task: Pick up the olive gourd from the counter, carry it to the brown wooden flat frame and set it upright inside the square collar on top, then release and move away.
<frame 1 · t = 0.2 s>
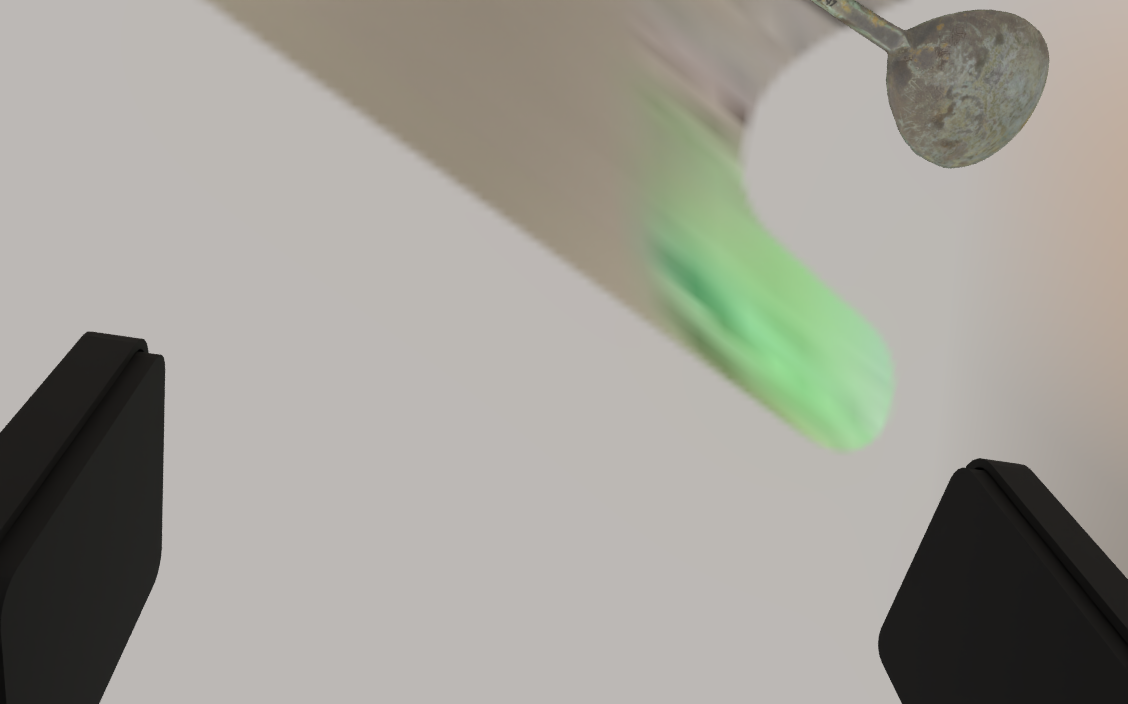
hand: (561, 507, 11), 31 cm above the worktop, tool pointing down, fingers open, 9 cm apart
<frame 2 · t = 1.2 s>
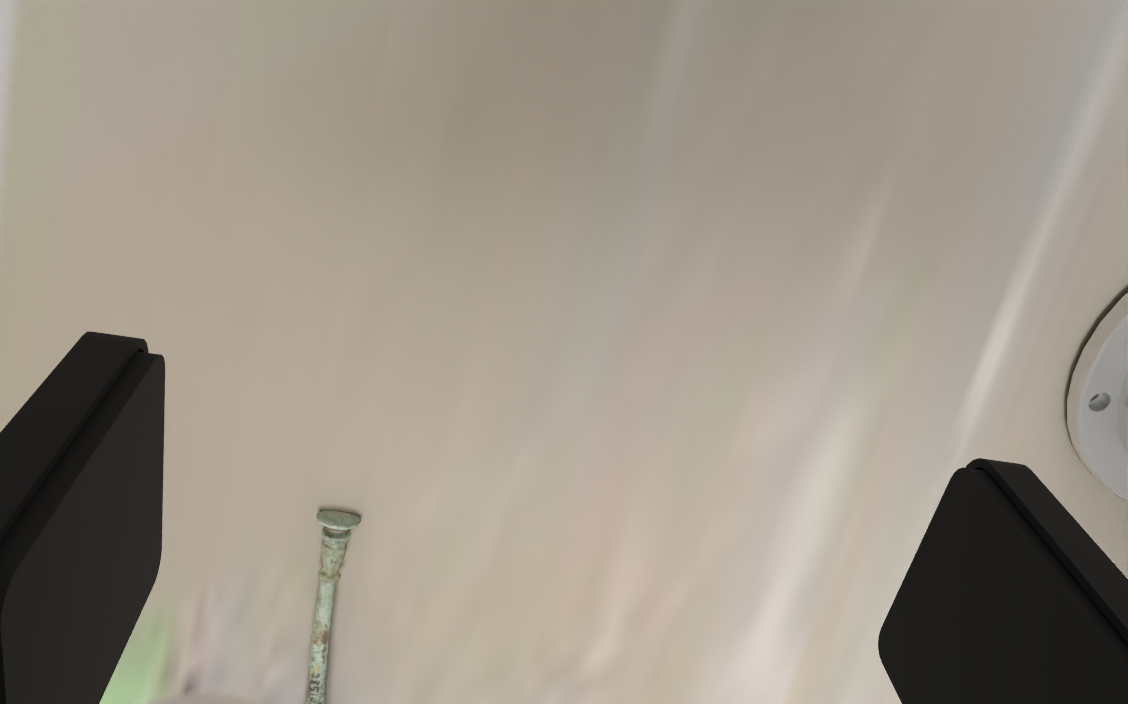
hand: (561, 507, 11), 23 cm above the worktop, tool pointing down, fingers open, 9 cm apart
soupspoon: (323, 687, 45), on the worktop
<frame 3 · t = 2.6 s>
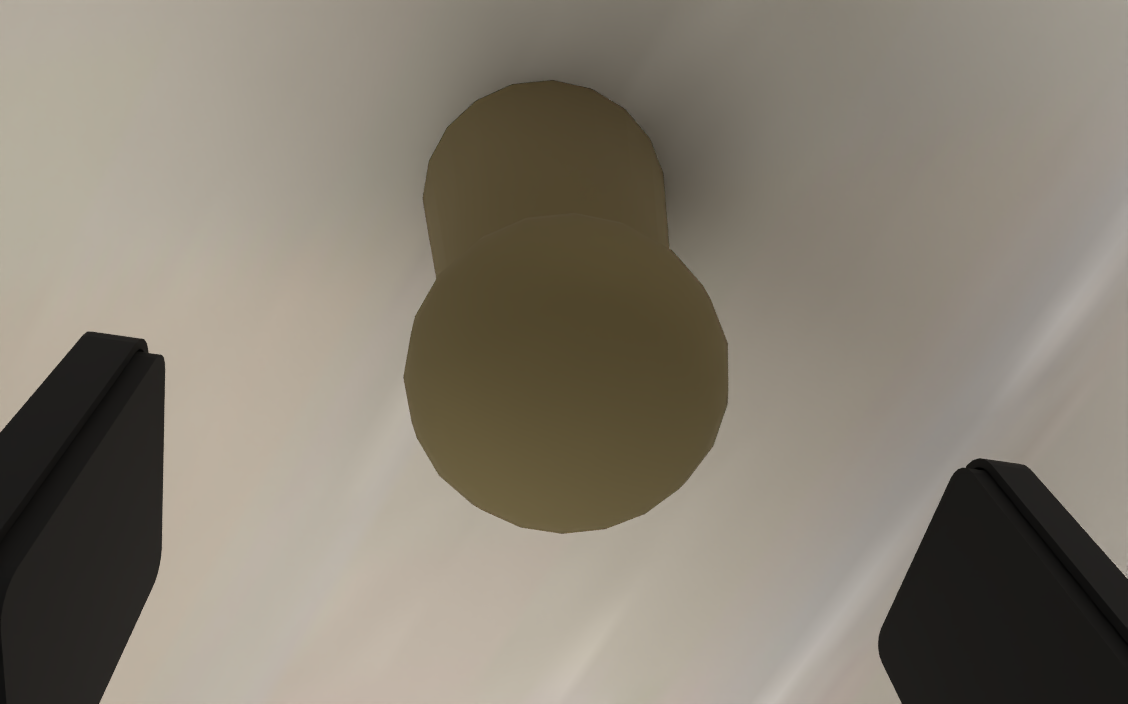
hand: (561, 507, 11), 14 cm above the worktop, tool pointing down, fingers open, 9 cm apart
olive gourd: (544, 201, 24), on the worktop
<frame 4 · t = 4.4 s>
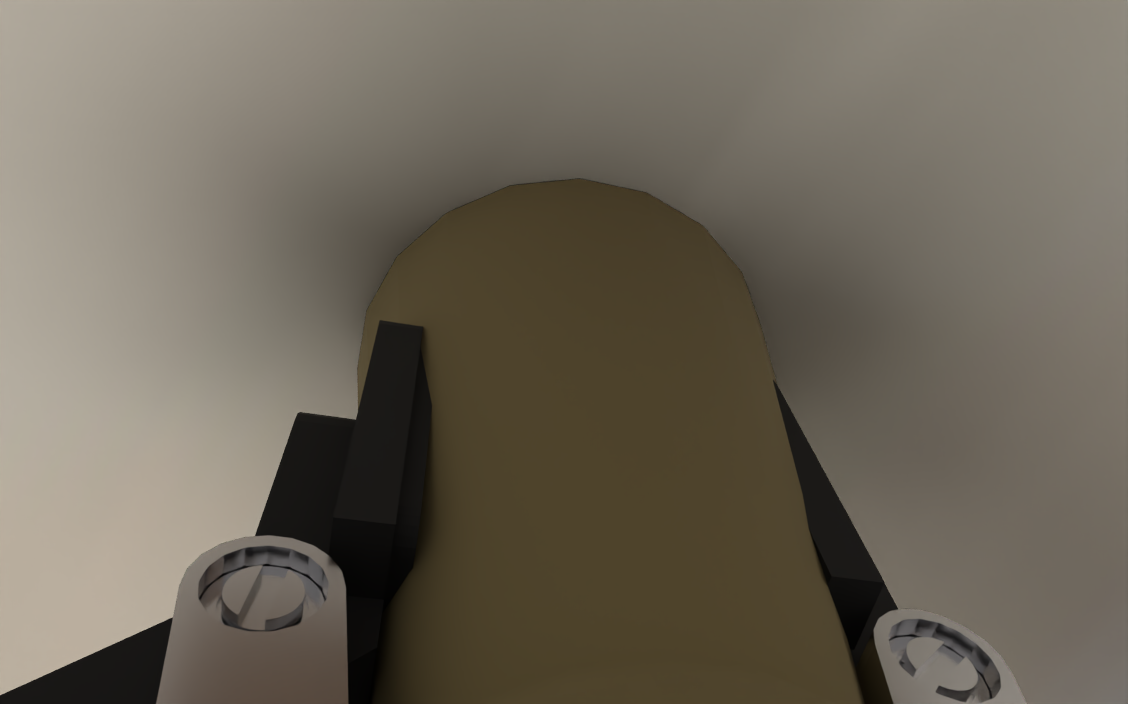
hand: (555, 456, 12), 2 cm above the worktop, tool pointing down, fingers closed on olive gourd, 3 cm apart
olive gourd: (561, 368, 14), on the worktop, touching gripper
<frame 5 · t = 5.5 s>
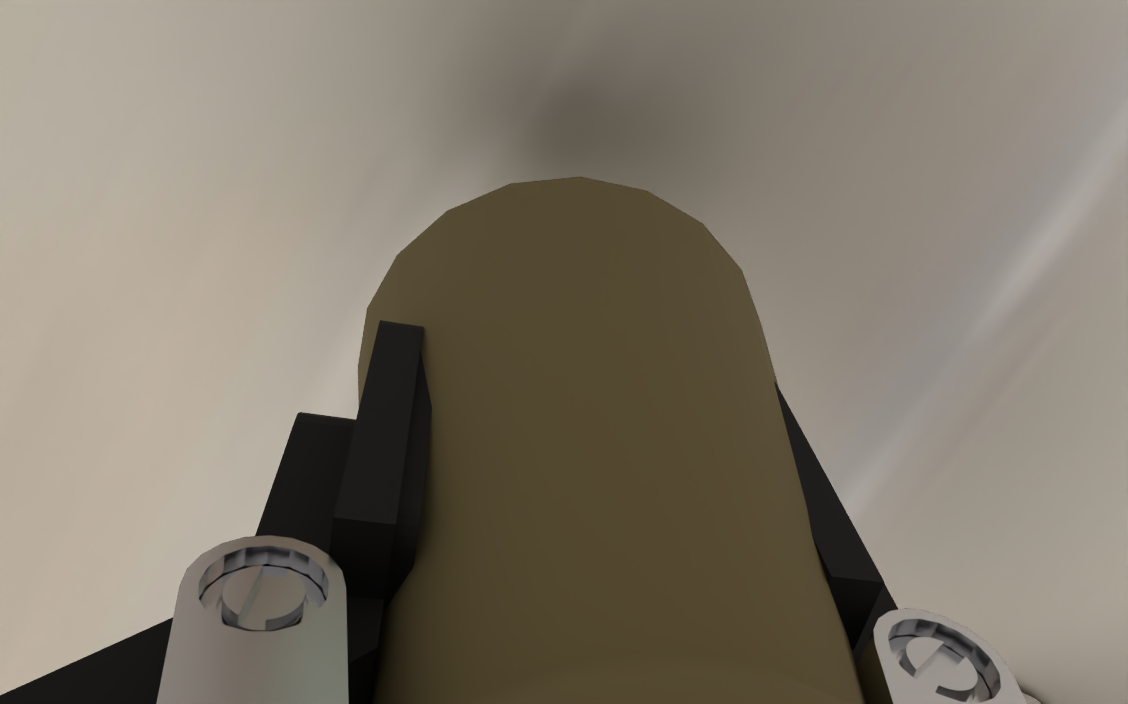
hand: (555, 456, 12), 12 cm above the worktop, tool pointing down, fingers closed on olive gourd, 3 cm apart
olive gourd: (562, 366, 14), point 9 cm above the worktop, touching gripper
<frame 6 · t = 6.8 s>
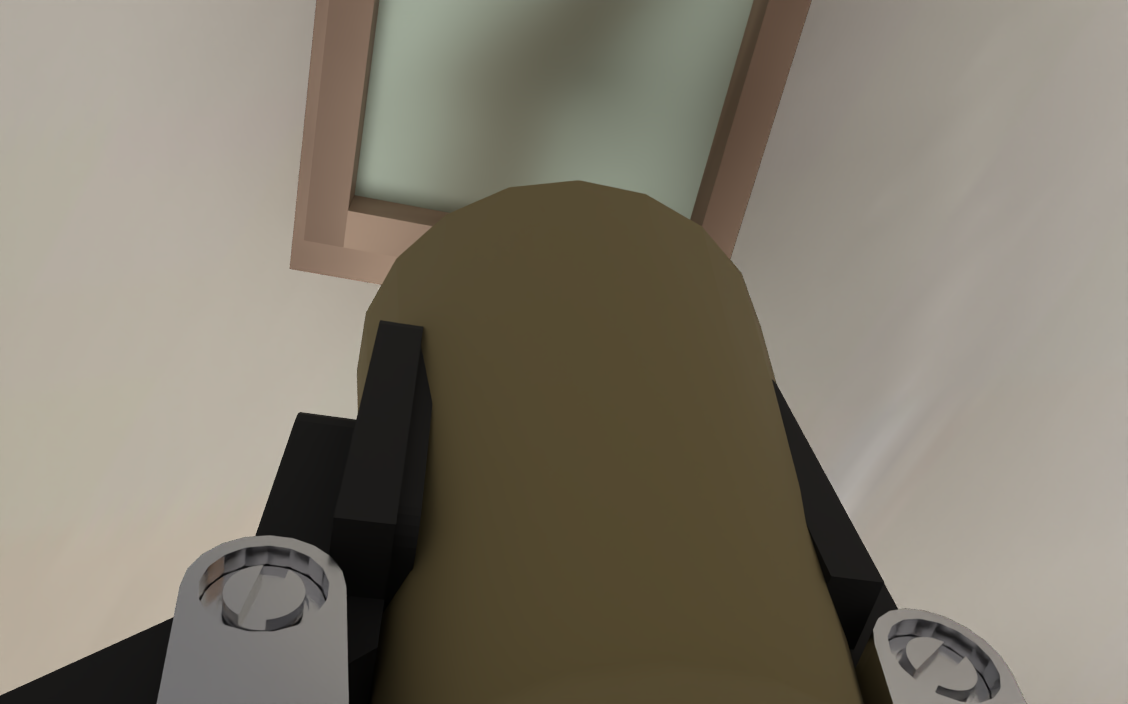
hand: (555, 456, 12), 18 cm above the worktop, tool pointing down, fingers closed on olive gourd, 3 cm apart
brown wooden flat frame: (549, 39, 27), on the worktop
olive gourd: (561, 370, 14), point 15 cm above the worktop, touching gripper
when the fingers open (7 cm above the worktop, at t = 9.3 s): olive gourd drops 1 cm, resting on brown wooden flat frame.
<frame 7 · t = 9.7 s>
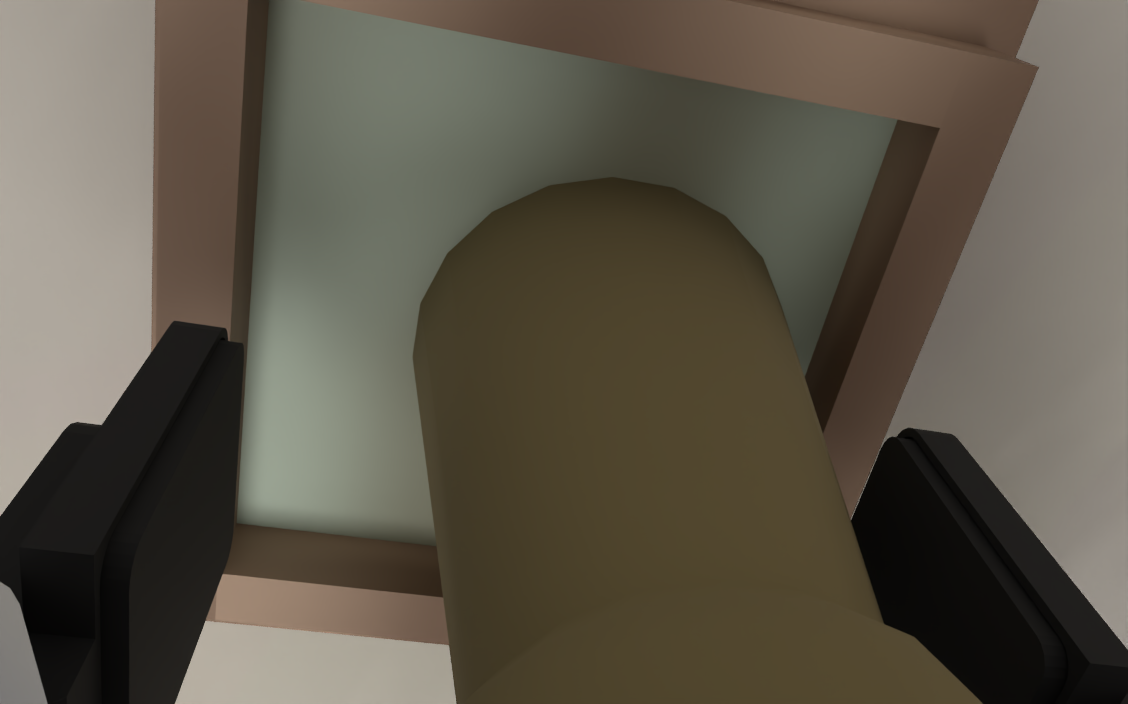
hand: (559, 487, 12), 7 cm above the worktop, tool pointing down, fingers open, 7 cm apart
brown wooden flat frame: (533, 257, 18), on the worktop
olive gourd: (599, 352, 16), point 3 cm above the worktop, touching brown wooden flat frame
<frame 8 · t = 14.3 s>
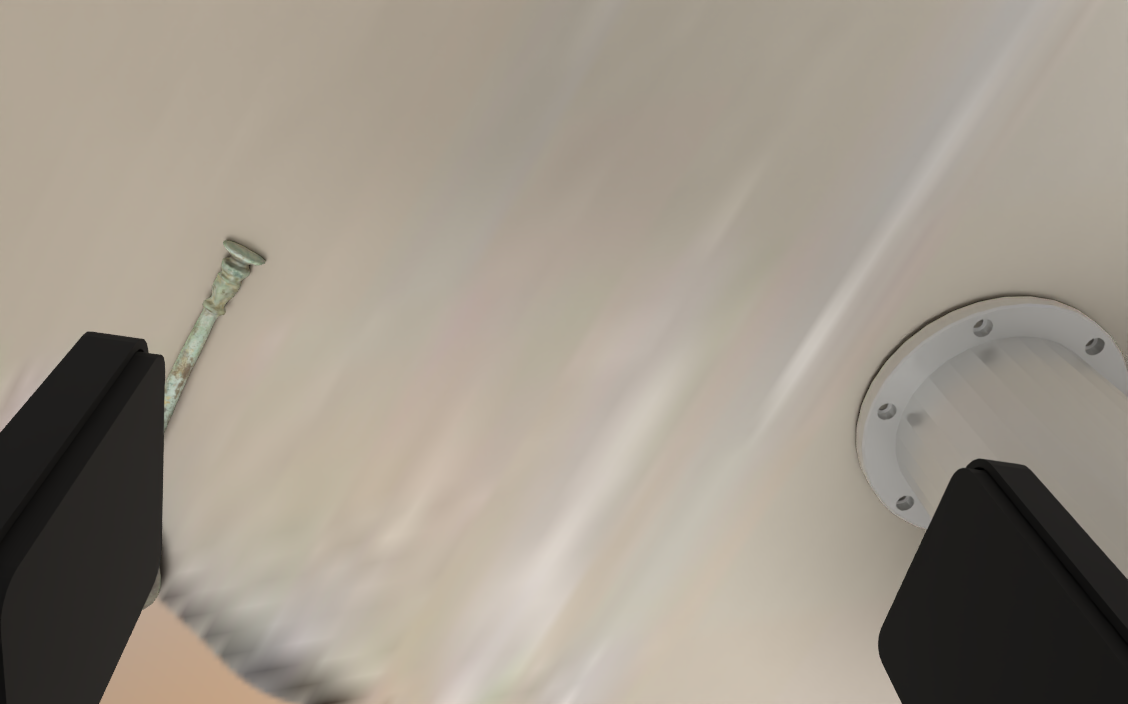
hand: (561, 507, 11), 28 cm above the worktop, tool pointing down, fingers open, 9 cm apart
soupspoon: (158, 436, 44), on the worktop
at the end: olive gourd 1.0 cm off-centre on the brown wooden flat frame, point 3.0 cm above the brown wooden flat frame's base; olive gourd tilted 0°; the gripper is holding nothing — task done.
